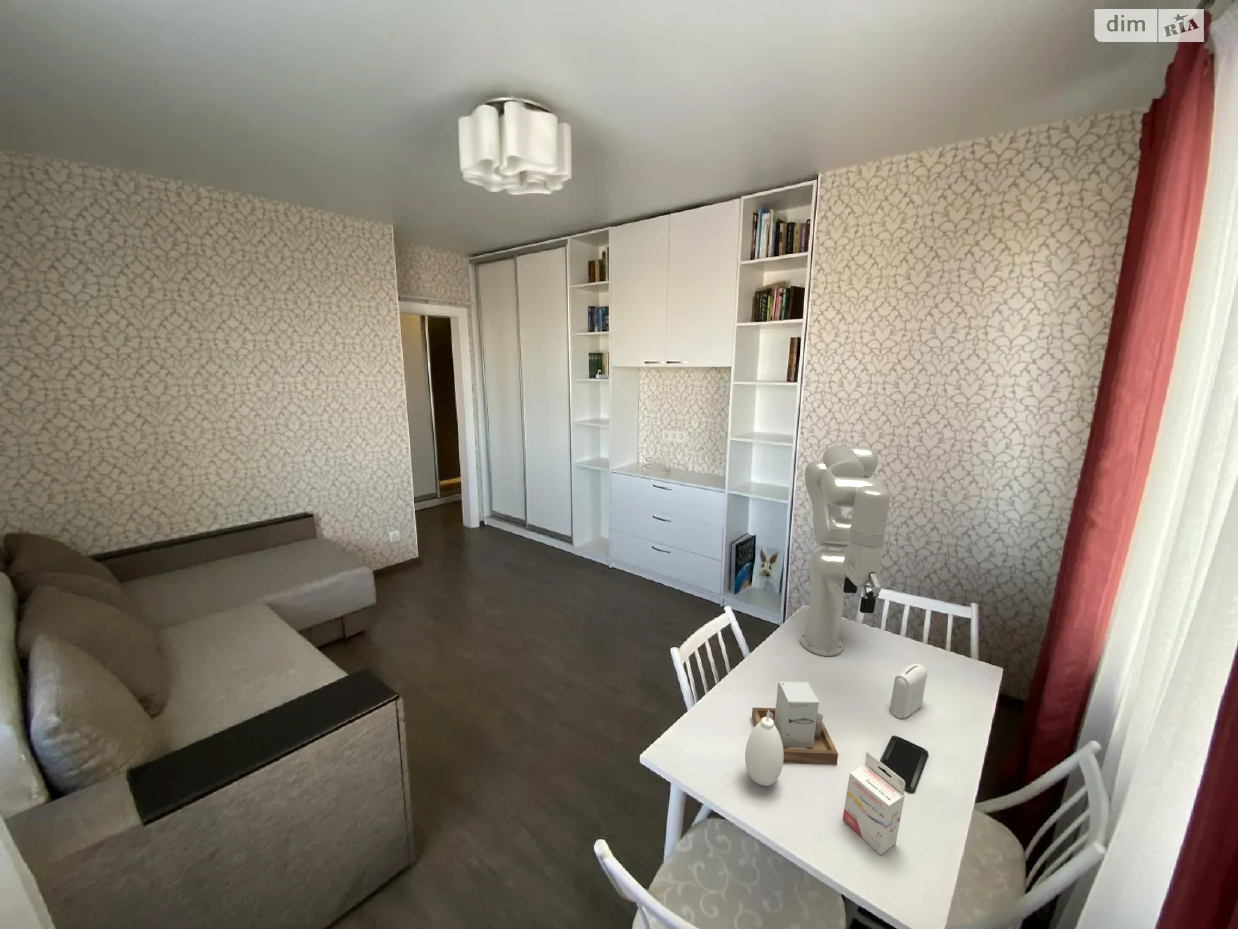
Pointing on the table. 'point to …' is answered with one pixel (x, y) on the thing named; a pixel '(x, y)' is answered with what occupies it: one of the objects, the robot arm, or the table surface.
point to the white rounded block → (908, 690)
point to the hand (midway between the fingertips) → (857, 602)
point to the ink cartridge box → (874, 804)
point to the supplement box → (796, 714)
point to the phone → (904, 761)
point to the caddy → (805, 755)
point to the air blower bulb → (764, 752)
